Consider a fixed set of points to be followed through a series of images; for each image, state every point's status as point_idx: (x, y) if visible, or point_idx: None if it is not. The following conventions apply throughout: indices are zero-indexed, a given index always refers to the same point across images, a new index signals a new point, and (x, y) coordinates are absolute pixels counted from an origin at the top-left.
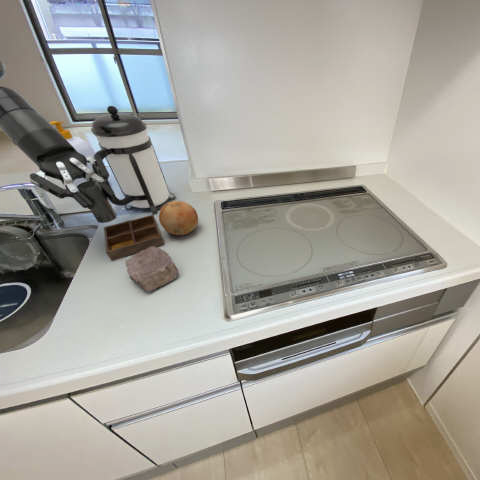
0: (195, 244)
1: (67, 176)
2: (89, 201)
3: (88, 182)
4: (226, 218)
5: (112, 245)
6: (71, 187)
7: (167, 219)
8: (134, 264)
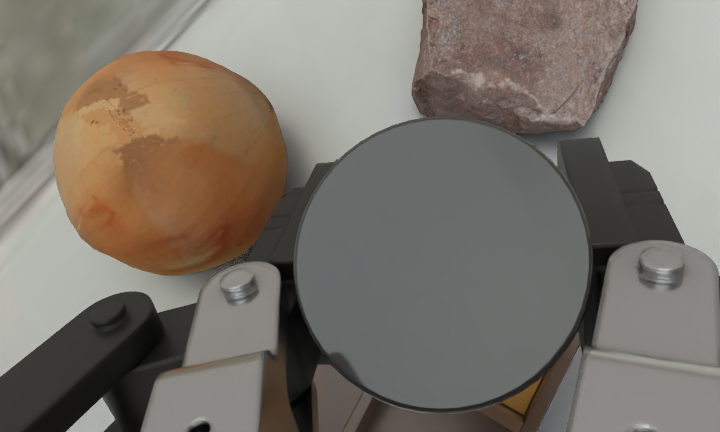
0: (279, 58)
1: (633, 422)
2: (573, 154)
3: (384, 329)
4: (55, 108)
5: (518, 411)
6: (669, 301)
7: (236, 108)
8: (578, 34)
